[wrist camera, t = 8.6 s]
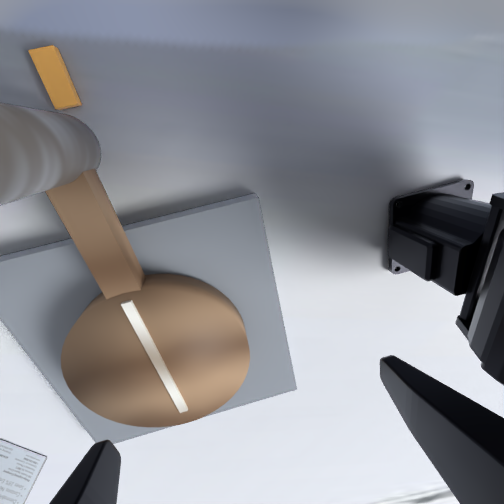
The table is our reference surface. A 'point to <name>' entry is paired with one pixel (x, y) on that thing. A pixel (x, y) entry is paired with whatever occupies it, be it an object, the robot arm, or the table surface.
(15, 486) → the light bulb box
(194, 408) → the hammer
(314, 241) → the table surface
